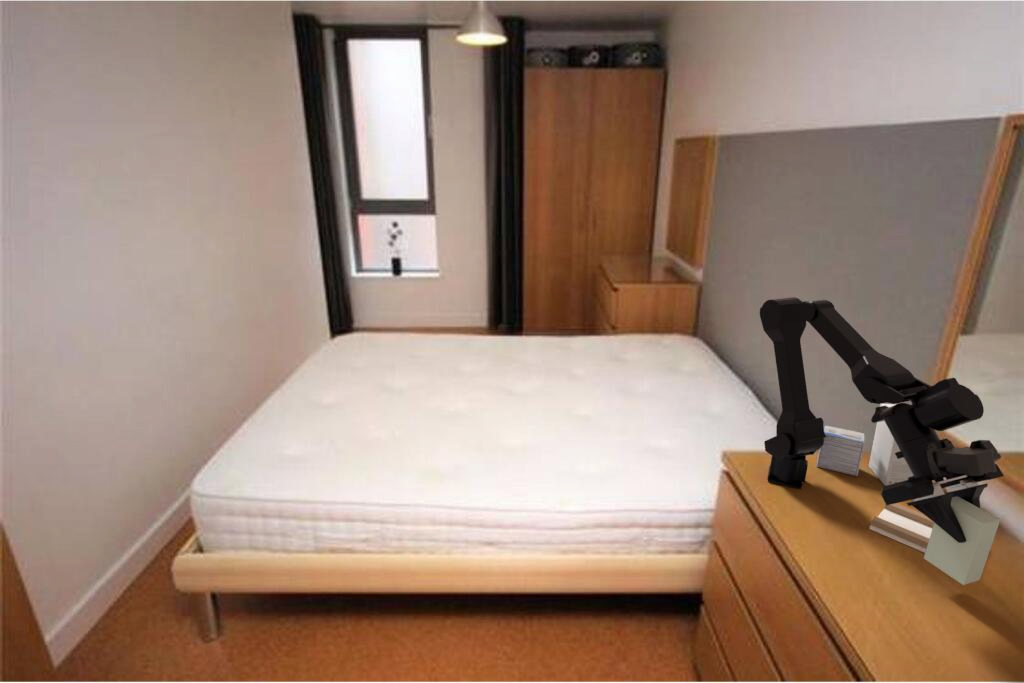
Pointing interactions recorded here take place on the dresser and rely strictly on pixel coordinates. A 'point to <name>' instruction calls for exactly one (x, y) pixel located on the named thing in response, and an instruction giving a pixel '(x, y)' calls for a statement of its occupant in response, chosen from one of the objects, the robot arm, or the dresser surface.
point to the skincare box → (887, 456)
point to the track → (904, 526)
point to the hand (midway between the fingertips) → (971, 539)
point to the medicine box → (841, 450)
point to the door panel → (967, 556)
